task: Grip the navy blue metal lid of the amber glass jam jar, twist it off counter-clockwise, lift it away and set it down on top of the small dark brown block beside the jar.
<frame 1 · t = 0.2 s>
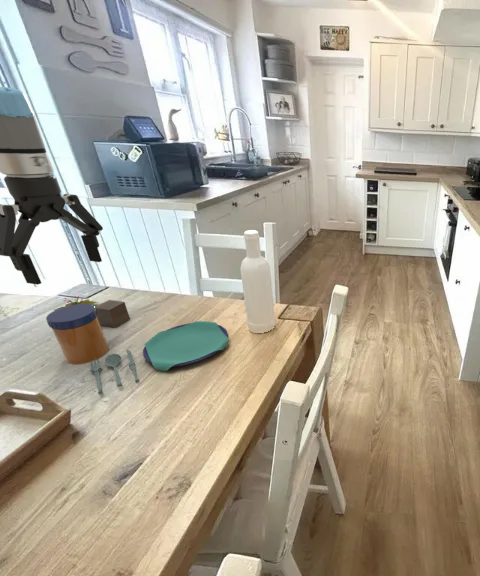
hand: (67, 271, 75), 22 cm above the table, tool pointing down, fingers open, 13 cm apart
lid: (72, 314, 78), point 12 cm above the table, screwed on, not yet turned
bottle: (262, 327, 99), on the table
cutlery set: (167, 355, 85), on the table
dark brown block: (115, 322, 96), on the table
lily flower: (77, 311, 100), on the table
jar: (88, 353, 83), on the table
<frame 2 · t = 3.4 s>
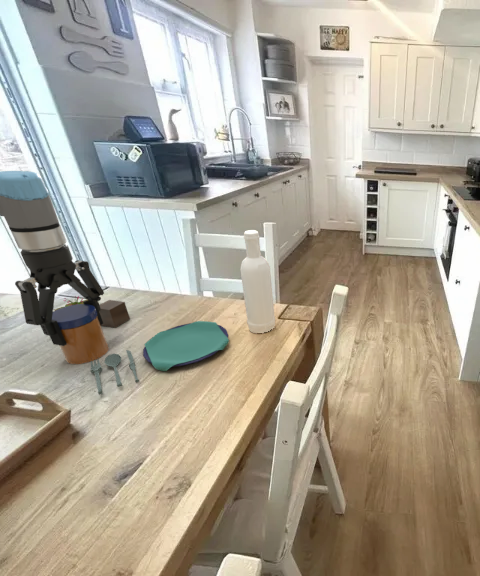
hand: (79, 333, 80), 6 cm above the table, tool pointing down, fingers closed on lid, 9 cm apart
lid: (72, 314, 78), point 12 cm above the table, screwed on, not yet turned, touching gripper
everything else where it was.
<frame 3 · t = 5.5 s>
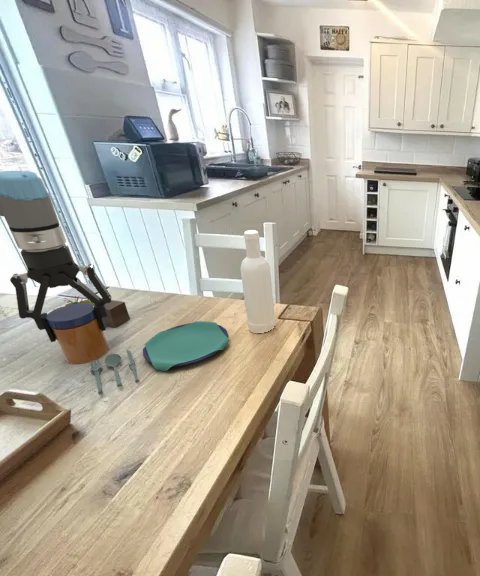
hand: (79, 333, 80), 6 cm above the table, tool pointing down, fingers closed on lid, 9 cm apart
lid: (71, 313, 78), point 12 cm above the table, off its thread, touching gripper
everything else where it was.
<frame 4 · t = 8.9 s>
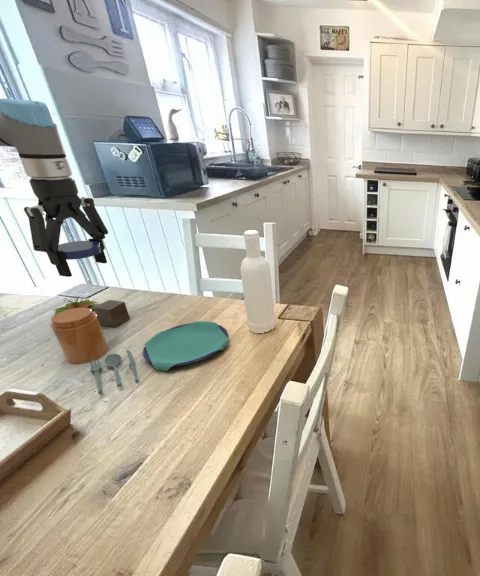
hand: (84, 268, 83), 19 cm above the table, tool pointing down, fingers closed on lid, 9 cm apart
lid: (77, 247, 81), point 25 cm above the table, off its thread, touching gripper
everything else where it was.
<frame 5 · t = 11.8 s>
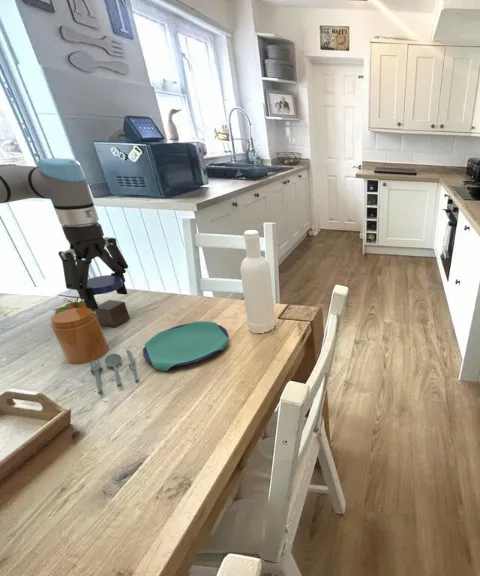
hand: (108, 300, 93), 7 cm above the table, tool pointing down, fingers closed on lid, 9 cm apart
lid: (102, 282, 90), point 13 cm above the table, off its thread, touching gripper
everything else where it was.
when the fingers open (0 cm above the table, at t = 14.2 s): lid stays where it is, resting on dark brown block.
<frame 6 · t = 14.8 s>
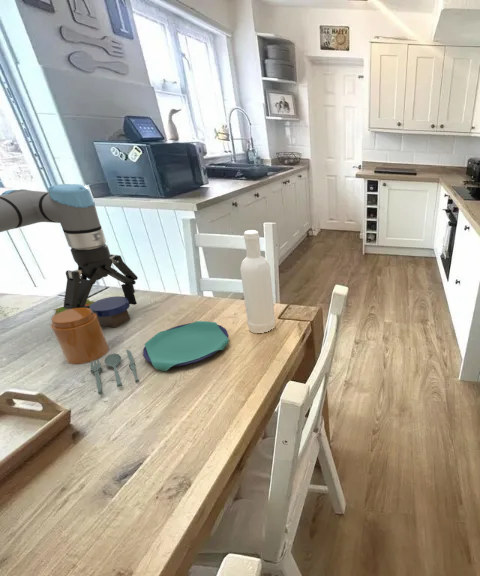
hand: (112, 314, 95), 3 cm above the table, tool pointing down, fingers open, 13 cm apart
lid: (109, 304, 93), point 6 cm above the table, off its thread, touching dark brown block
everything else where it was.
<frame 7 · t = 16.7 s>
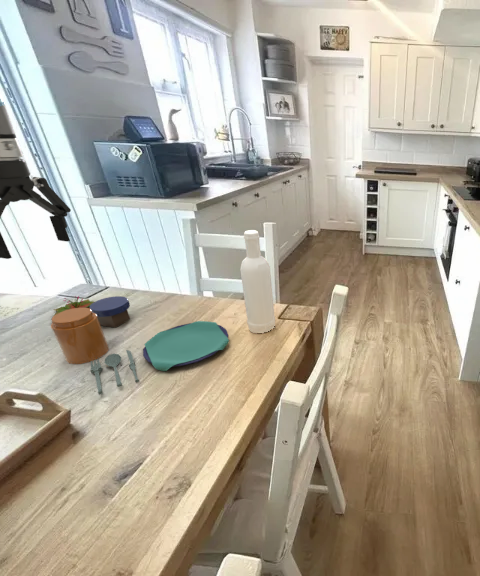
hand: (36, 248, 81), 24 cm above the table, tool pointing down, fingers open, 13 cm apart
nothing on the table moved.
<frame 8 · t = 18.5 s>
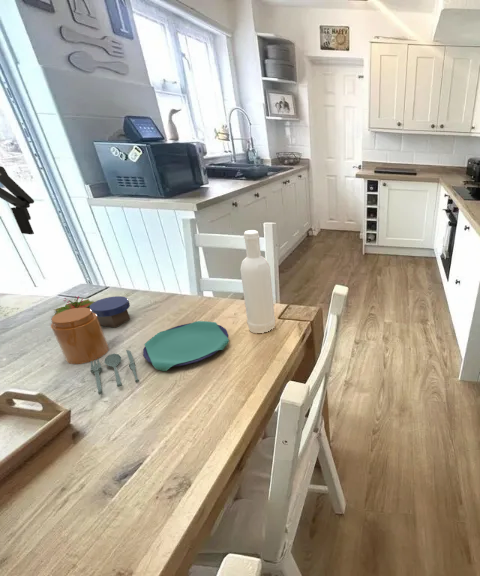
nothing on the table moved.
at the end: the gripper is holding nothing; lid 0.1 cm from the target spot, point 6.0 cm above the table; lid tilted 0° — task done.
